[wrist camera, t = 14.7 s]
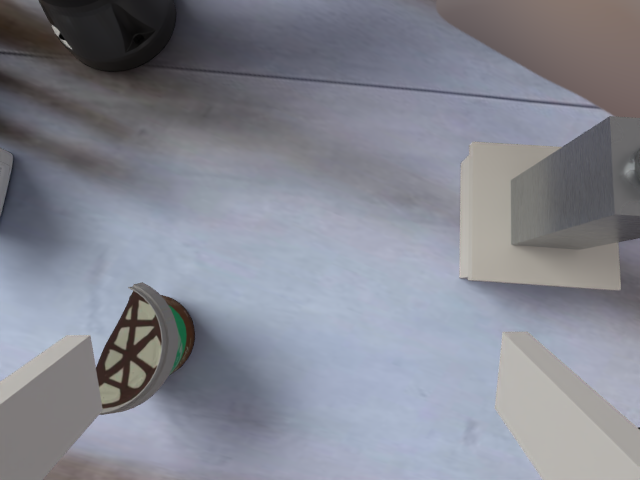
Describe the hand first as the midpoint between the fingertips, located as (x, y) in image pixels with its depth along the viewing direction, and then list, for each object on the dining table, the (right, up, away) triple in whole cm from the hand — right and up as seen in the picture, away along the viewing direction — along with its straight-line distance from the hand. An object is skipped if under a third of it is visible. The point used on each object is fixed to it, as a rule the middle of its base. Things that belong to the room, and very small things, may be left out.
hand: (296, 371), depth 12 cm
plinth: (+24, +6, +32) cm, 41 cm away
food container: (-16, -8, +31) cm, 35 cm away
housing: (+24, +7, +27) cm, 37 cm away
